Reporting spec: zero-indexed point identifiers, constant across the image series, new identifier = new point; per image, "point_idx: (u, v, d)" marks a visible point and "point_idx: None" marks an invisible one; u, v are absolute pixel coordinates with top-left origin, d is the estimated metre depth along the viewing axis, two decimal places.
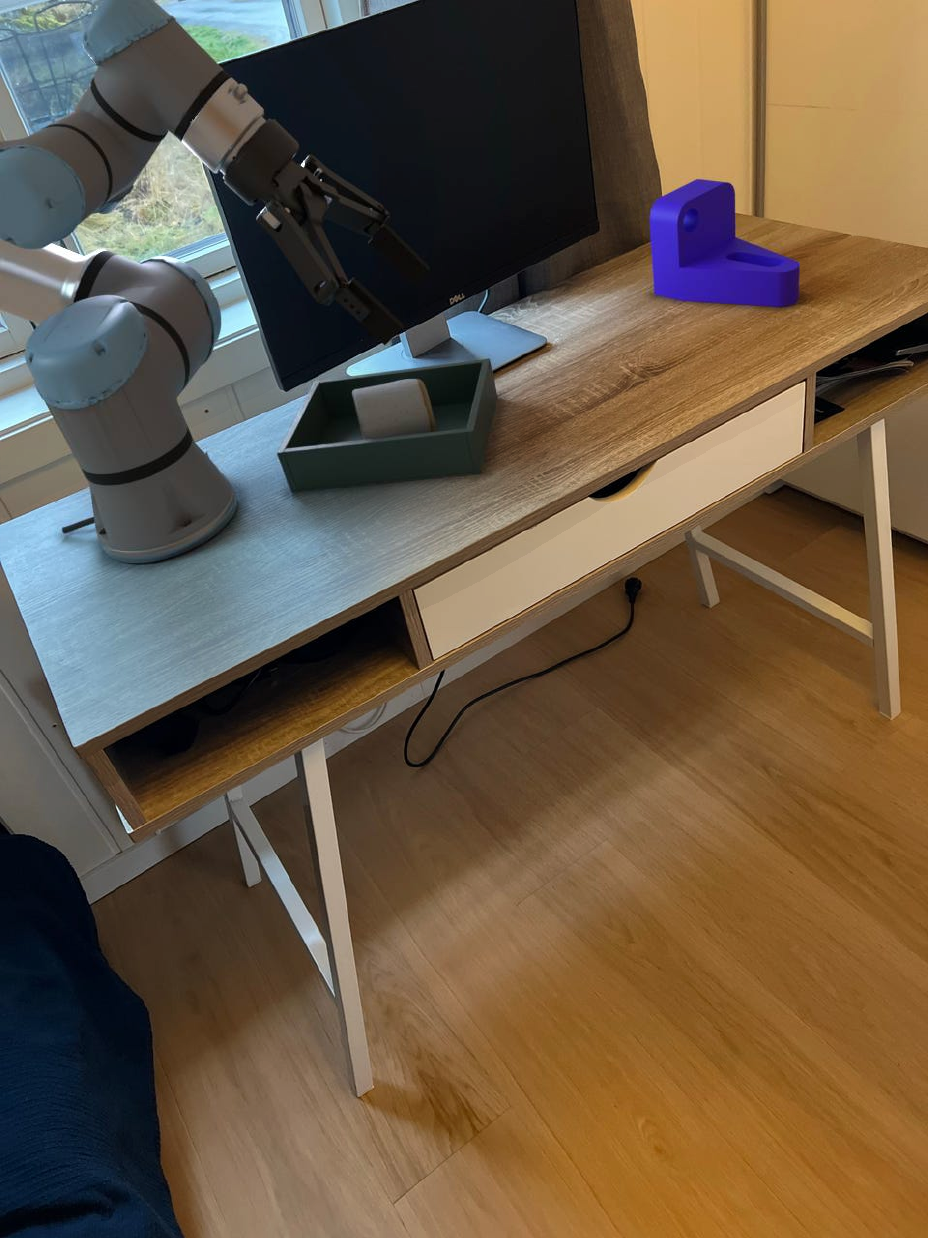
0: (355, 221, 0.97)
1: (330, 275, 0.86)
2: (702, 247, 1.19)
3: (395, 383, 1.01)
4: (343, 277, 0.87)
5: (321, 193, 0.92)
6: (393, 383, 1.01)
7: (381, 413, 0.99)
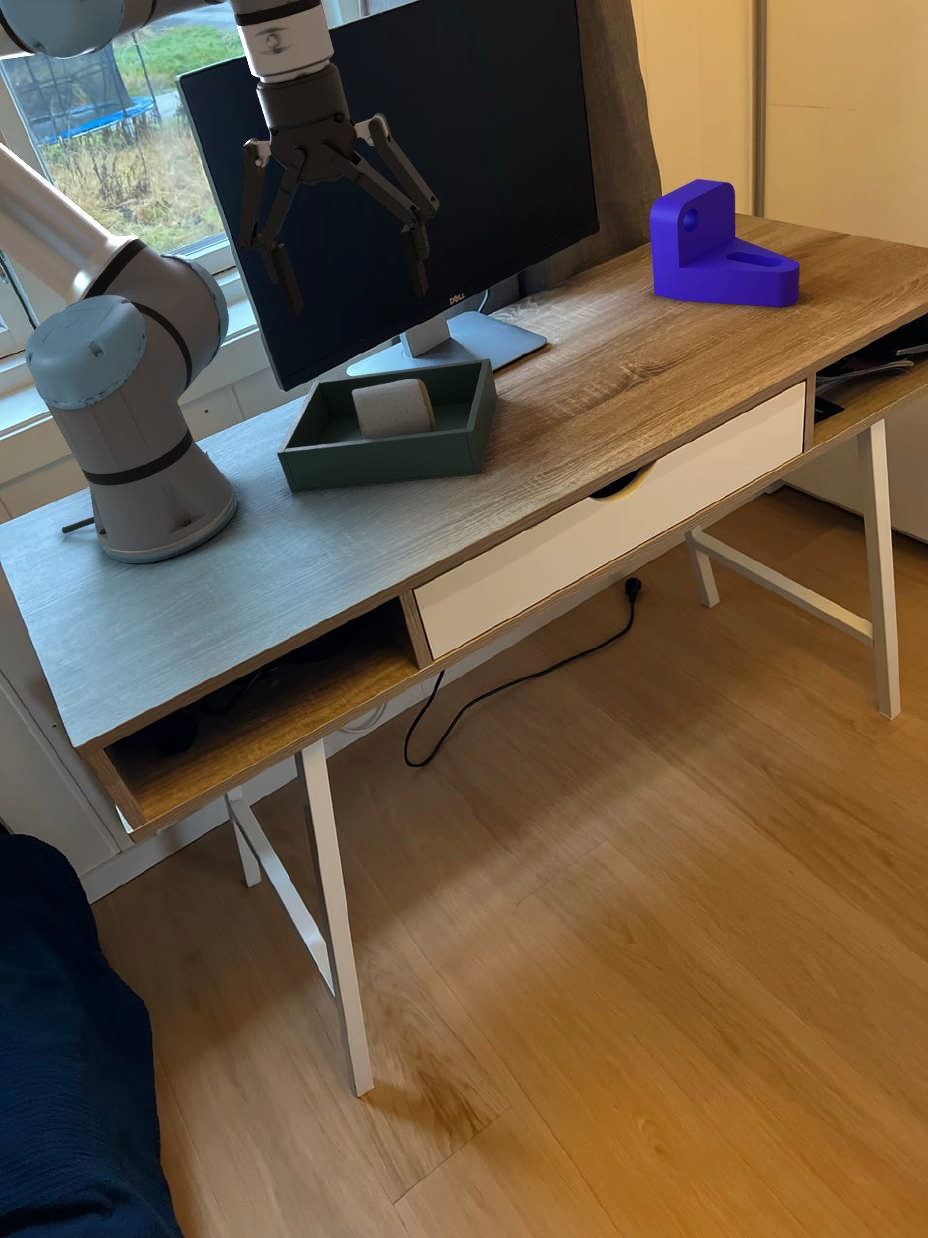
0: None
1: (247, 238, 0.91)
2: (702, 247, 1.19)
3: (395, 383, 1.01)
4: (261, 247, 0.92)
5: None
6: (393, 383, 1.01)
7: (381, 413, 0.99)
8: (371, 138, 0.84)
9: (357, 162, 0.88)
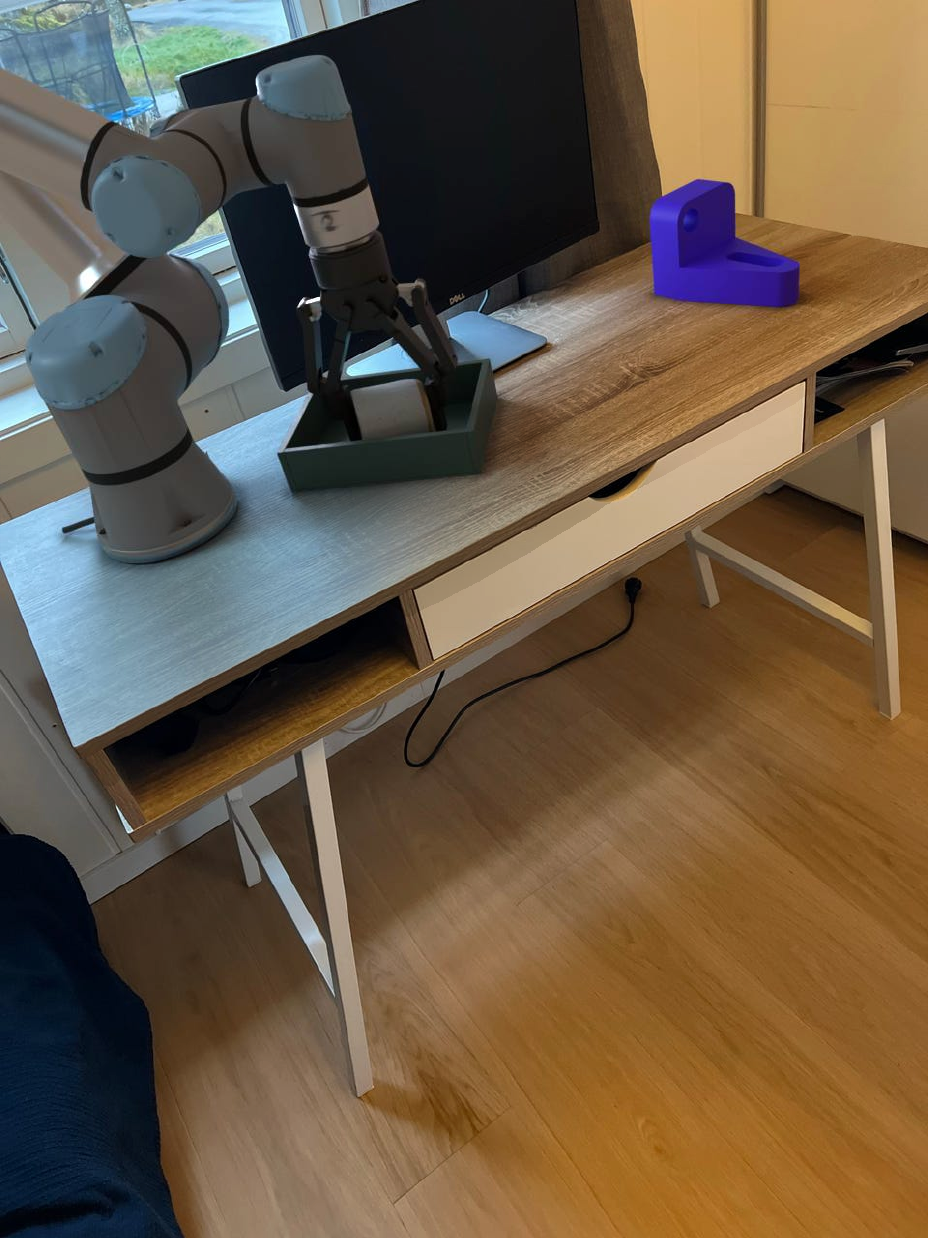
0: None
1: (314, 383, 1.01)
2: (702, 247, 1.19)
3: (393, 383, 1.01)
4: (328, 391, 1.01)
5: None
6: (391, 383, 1.01)
7: (379, 413, 0.99)
8: (411, 301, 0.94)
9: (394, 316, 0.97)
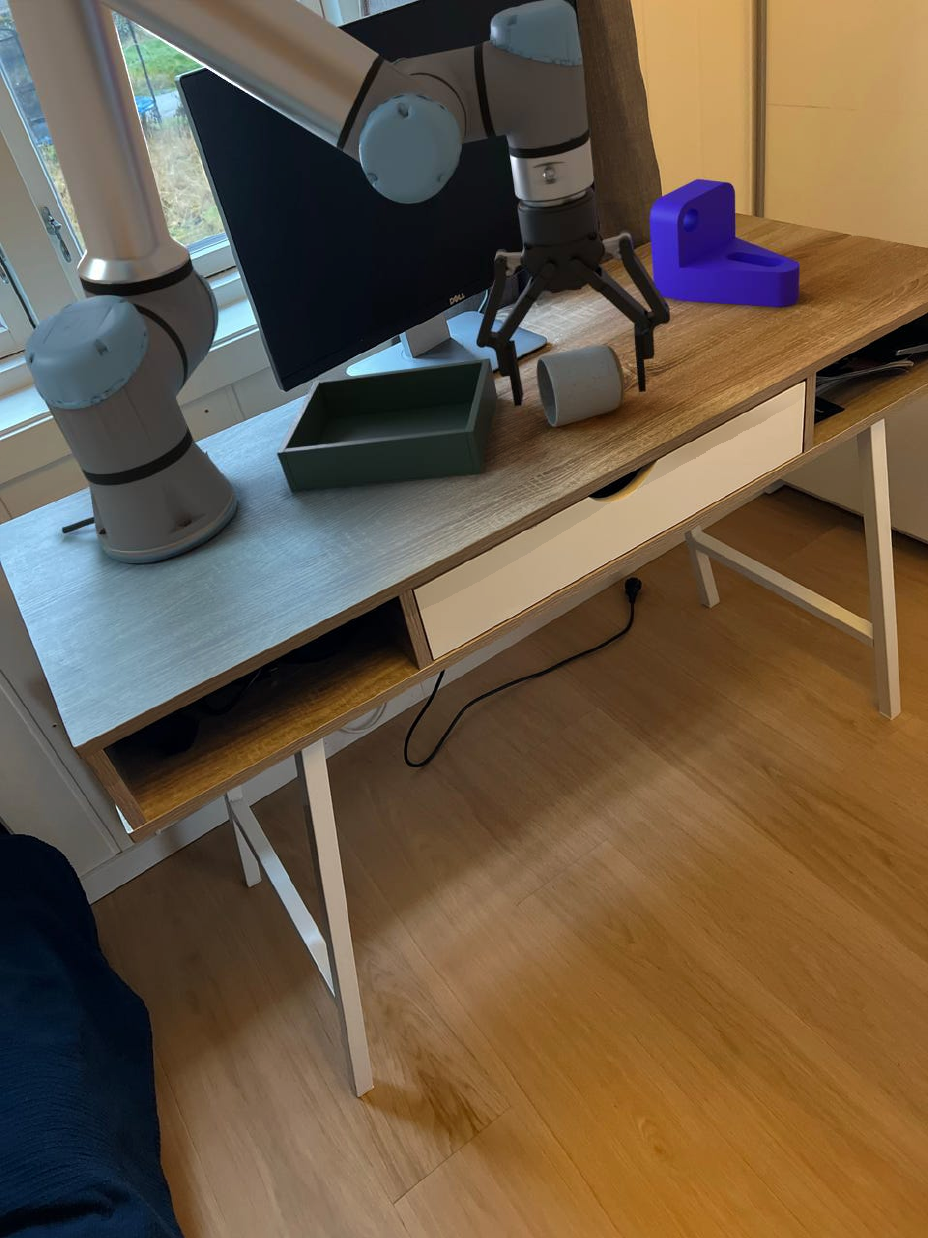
0: None
1: (485, 337, 0.98)
2: (702, 247, 1.19)
3: (585, 349, 0.99)
4: (498, 345, 0.99)
5: None
6: (583, 349, 0.99)
7: (574, 379, 0.97)
8: (620, 254, 0.91)
9: (597, 272, 0.95)
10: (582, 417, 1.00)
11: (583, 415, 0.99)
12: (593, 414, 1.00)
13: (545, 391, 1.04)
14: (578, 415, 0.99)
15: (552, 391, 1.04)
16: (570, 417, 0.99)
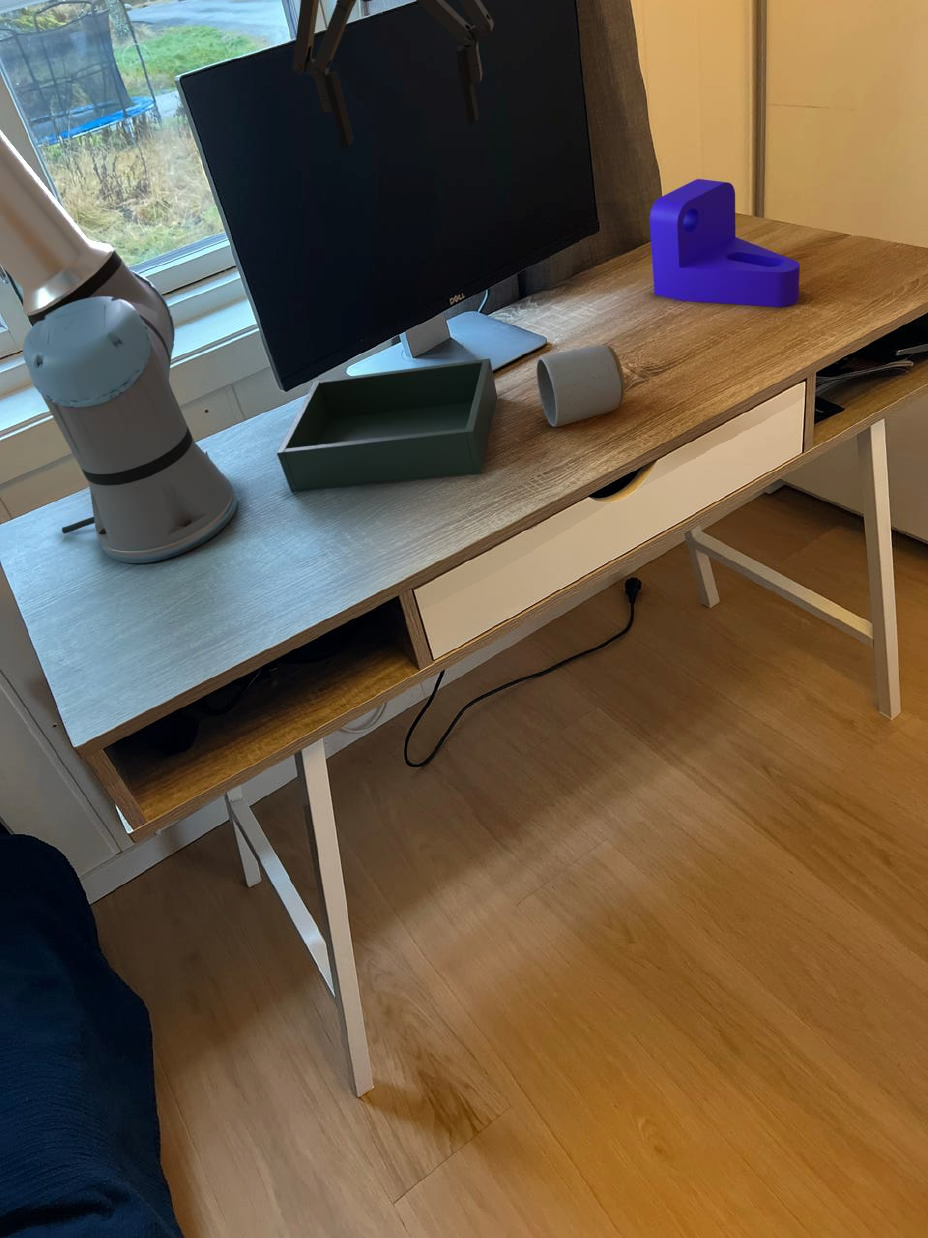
0: None
1: (301, 60, 0.92)
2: (702, 247, 1.19)
3: (585, 349, 0.99)
4: (315, 70, 0.92)
5: None
6: (583, 349, 0.99)
7: (574, 379, 0.97)
8: None
9: None
10: (582, 417, 1.00)
11: (583, 415, 0.99)
12: (593, 414, 1.00)
13: (545, 391, 1.04)
14: (578, 415, 0.99)
15: (552, 391, 1.04)
16: (570, 417, 0.99)
